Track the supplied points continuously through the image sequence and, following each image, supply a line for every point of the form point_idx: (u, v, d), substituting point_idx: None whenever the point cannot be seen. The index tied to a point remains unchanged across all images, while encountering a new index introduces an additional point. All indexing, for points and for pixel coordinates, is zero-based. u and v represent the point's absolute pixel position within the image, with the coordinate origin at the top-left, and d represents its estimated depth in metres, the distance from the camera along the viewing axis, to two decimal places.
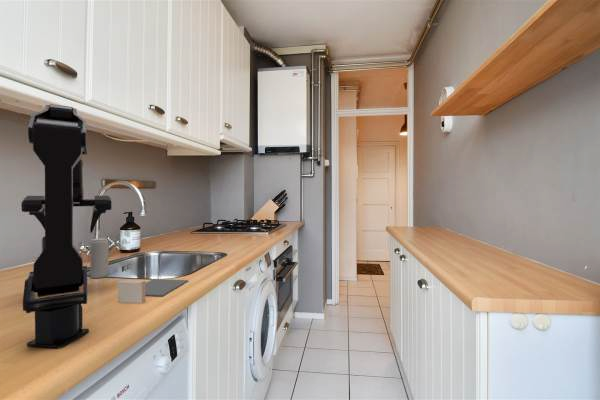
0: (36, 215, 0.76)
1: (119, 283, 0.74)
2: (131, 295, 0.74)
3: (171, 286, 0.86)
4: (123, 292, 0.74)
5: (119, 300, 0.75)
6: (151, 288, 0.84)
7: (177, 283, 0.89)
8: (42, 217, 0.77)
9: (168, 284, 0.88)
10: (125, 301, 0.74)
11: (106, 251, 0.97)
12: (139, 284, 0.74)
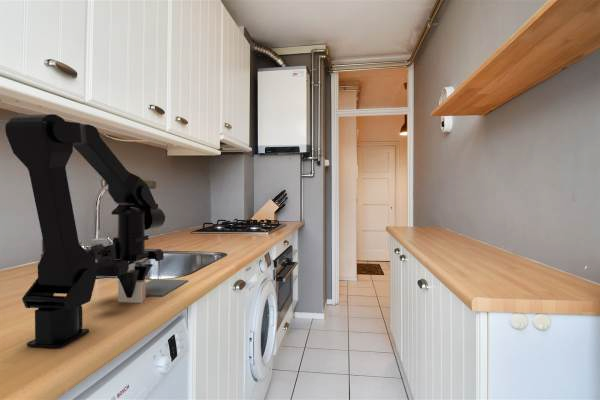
0: (134, 274, 0.72)
1: (119, 283, 0.75)
2: None
3: (171, 286, 0.86)
4: (123, 292, 0.74)
5: (119, 300, 0.75)
6: (151, 288, 0.84)
7: (177, 283, 0.89)
8: (136, 275, 0.73)
9: (168, 284, 0.88)
10: (125, 301, 0.74)
11: None
12: (139, 284, 0.74)
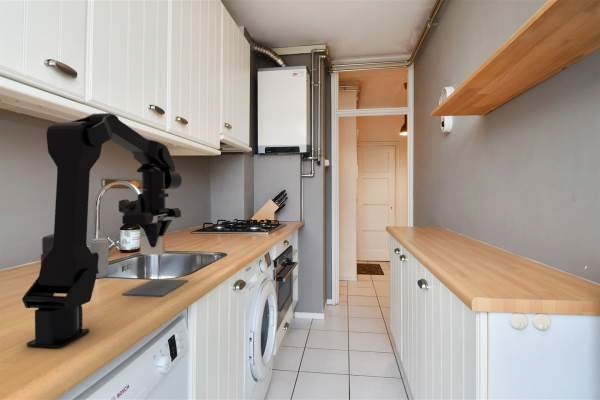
0: (158, 225, 0.81)
1: (142, 237, 0.84)
2: (153, 248, 0.84)
3: (171, 286, 0.86)
4: (145, 245, 0.84)
5: (142, 252, 0.84)
6: (151, 288, 0.84)
7: (177, 283, 0.89)
8: (159, 227, 0.82)
9: (168, 284, 0.88)
10: (147, 253, 0.84)
11: (106, 251, 0.97)
12: (159, 238, 0.84)
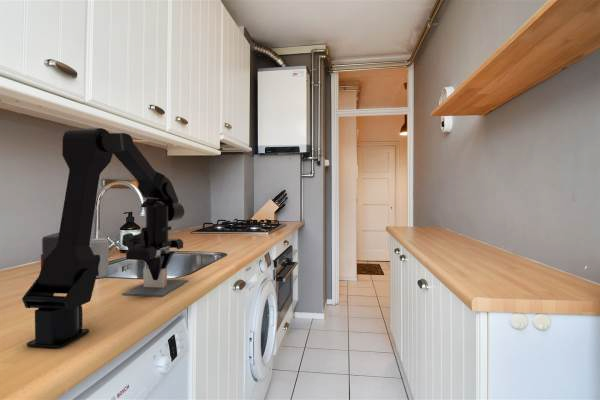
0: (160, 259, 0.83)
1: (144, 270, 0.85)
2: (155, 280, 0.85)
3: (171, 286, 0.86)
4: (148, 278, 0.85)
5: (144, 285, 0.86)
6: (151, 288, 0.84)
7: (177, 283, 0.89)
8: (162, 260, 0.84)
9: (168, 284, 0.88)
10: (149, 286, 0.85)
11: (106, 251, 0.97)
12: (162, 271, 0.85)
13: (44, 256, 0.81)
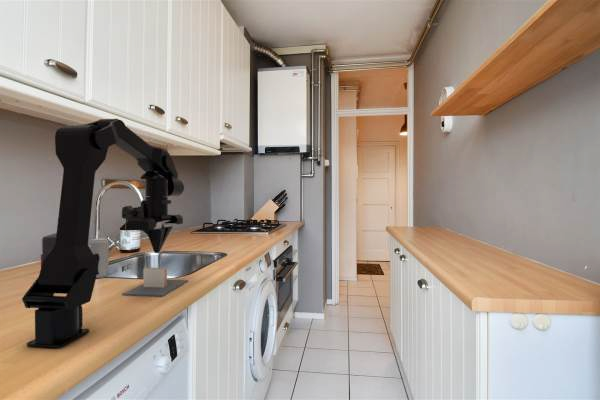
0: (162, 231, 0.83)
1: (144, 270, 0.85)
2: (155, 280, 0.85)
3: (171, 286, 0.86)
4: (148, 278, 0.85)
5: (144, 285, 0.86)
6: (151, 288, 0.84)
7: (177, 283, 0.89)
8: (163, 232, 0.84)
9: (168, 284, 0.88)
10: (149, 286, 0.85)
11: (106, 251, 0.97)
12: (162, 271, 0.85)
13: (44, 256, 0.81)
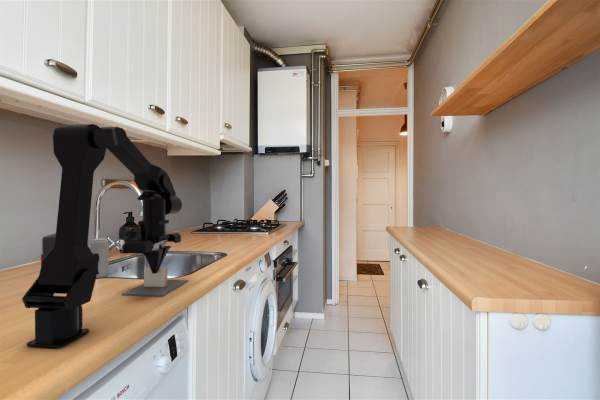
0: (159, 252, 0.82)
1: (145, 269, 0.86)
2: (155, 280, 0.85)
3: (171, 286, 0.86)
4: (148, 277, 0.86)
5: (144, 284, 0.86)
6: (151, 288, 0.84)
7: (177, 283, 0.89)
8: (161, 253, 0.83)
9: (168, 284, 0.88)
10: (150, 285, 0.85)
11: (106, 251, 0.97)
12: (163, 270, 0.85)
13: (44, 256, 0.81)
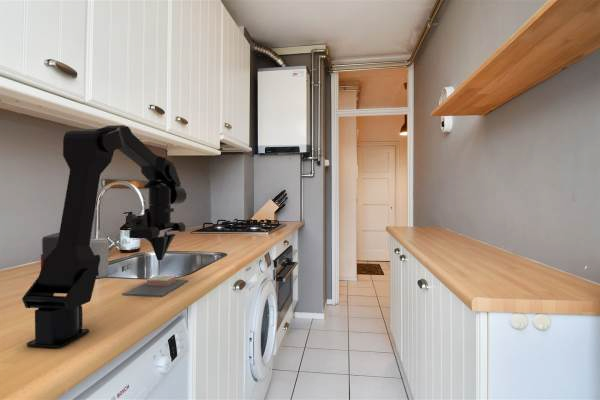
0: (165, 239, 0.85)
1: (157, 275, 0.92)
2: (162, 278, 0.89)
3: (171, 286, 0.86)
4: (156, 277, 0.89)
5: (149, 279, 0.88)
6: (151, 288, 0.84)
7: (177, 283, 0.89)
8: (166, 240, 0.86)
9: None
10: (153, 279, 0.87)
11: (106, 251, 0.97)
12: (173, 276, 0.91)
13: (44, 256, 0.81)
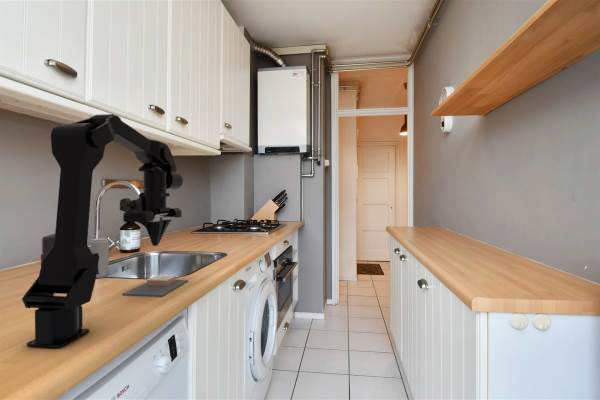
0: (160, 223, 0.82)
1: (157, 275, 0.92)
2: (162, 278, 0.89)
3: (171, 286, 0.86)
4: (156, 277, 0.89)
5: (149, 279, 0.88)
6: (151, 288, 0.84)
7: (177, 283, 0.89)
8: (161, 225, 0.83)
9: None
10: (153, 279, 0.87)
11: (106, 251, 0.97)
12: (173, 276, 0.91)
13: (44, 256, 0.81)
